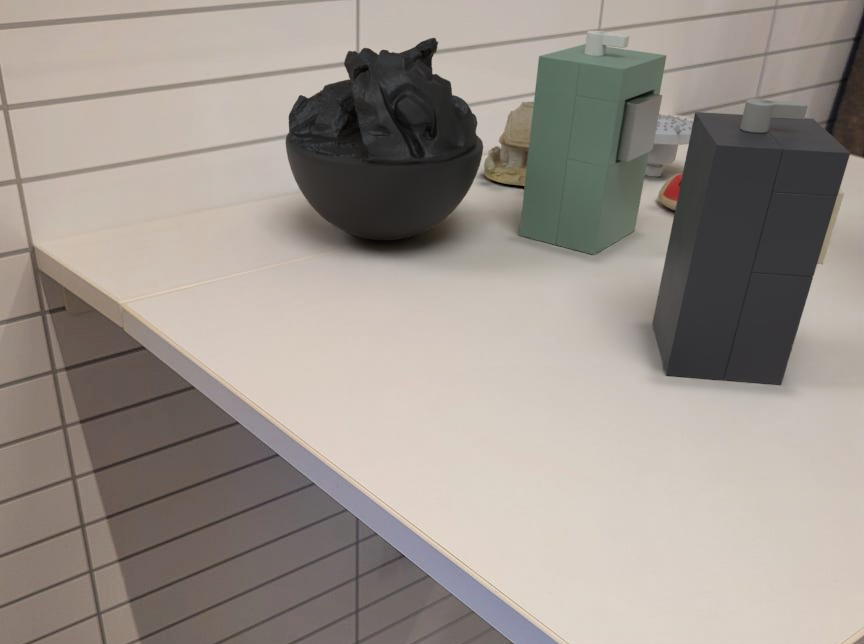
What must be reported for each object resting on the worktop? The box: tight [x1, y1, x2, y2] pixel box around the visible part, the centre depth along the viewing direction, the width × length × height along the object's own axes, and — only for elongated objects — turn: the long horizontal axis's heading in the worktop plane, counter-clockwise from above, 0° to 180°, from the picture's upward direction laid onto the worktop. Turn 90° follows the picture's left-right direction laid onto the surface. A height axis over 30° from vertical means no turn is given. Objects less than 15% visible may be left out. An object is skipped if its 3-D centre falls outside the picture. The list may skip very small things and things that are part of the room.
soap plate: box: [616, 93, 663, 162], centre depth 94 cm, size 1×6×5 cm, turn 143°
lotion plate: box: [817, 188, 845, 265], centre depth 72 cm, size 1×6×5 cm, turn 173°
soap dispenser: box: [518, 30, 667, 256], centre depth 97 cm, size 9×10×20 cm
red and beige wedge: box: [657, 173, 683, 212], centre depth 110 cm, size 7×10×4 cm
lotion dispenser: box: [651, 98, 851, 385], centre depth 73 cm, size 9×10×20 cm
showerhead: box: [645, 113, 693, 178], centre depth 121 cm, size 9×7×10 cm
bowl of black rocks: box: [285, 37, 484, 241], centre depth 95 cm, size 20×20×19 cm
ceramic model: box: [483, 101, 534, 187], centre depth 116 cm, size 14×11×10 cm
